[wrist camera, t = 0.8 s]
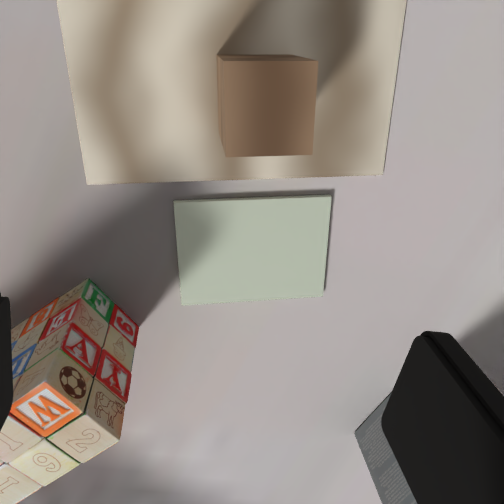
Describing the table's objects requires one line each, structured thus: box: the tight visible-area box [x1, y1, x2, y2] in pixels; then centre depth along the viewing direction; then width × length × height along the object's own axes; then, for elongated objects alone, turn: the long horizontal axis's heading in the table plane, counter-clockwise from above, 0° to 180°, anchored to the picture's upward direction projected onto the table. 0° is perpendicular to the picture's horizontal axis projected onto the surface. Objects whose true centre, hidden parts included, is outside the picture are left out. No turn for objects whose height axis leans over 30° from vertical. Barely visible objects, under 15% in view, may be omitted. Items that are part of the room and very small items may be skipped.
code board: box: [57, 0, 407, 185], centre depth 29 cm, size 22×20×1 cm
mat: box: [173, 195, 332, 306], centre depth 36 cm, size 12×9×1 cm
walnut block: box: [217, 54, 318, 157], centre depth 28 cm, size 5×5×7 cm
